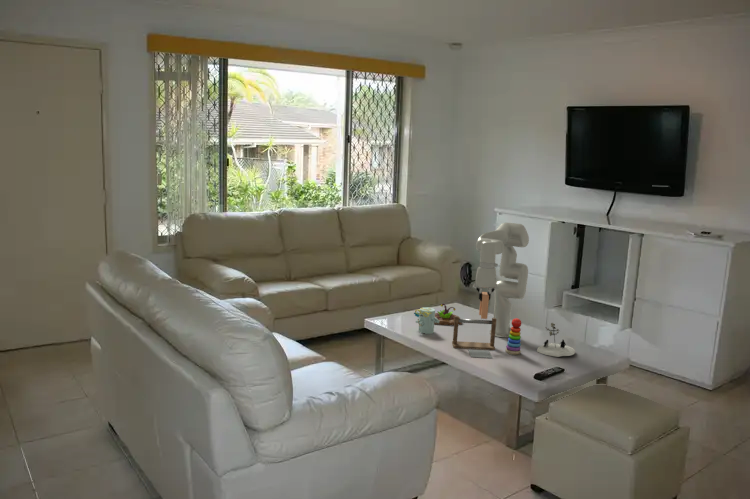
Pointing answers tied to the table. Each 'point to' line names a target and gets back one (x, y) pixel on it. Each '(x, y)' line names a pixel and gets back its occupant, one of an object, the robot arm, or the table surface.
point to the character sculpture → (426, 320)
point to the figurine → (555, 347)
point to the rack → (474, 344)
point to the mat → (480, 353)
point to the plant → (445, 316)
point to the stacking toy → (514, 338)
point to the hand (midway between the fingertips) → (484, 300)
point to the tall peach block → (484, 305)
